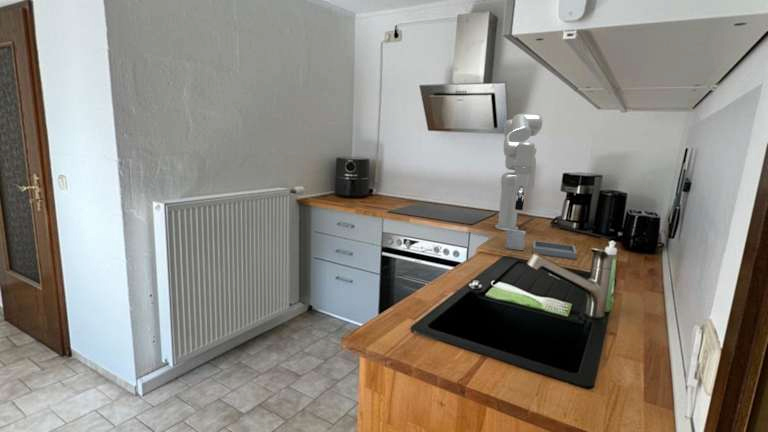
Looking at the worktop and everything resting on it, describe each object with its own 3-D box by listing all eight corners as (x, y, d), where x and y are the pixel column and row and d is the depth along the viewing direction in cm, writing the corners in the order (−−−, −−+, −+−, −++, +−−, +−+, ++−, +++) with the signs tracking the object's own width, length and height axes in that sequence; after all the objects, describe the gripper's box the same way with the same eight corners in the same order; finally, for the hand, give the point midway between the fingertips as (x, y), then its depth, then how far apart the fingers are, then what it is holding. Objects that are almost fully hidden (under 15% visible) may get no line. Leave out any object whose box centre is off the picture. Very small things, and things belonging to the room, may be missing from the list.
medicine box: (523, 249, 191) (525, 231, 190) (522, 251, 187) (524, 233, 186) (506, 246, 195) (508, 228, 193) (505, 248, 191) (506, 230, 189)
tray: (532, 246, 197) (533, 240, 196) (573, 251, 191) (574, 245, 190) (532, 254, 184) (533, 248, 183) (576, 259, 178) (577, 253, 177)
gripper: (515, 168, 192) (511, 204, 196) (513, 171, 176) (509, 210, 180) (532, 169, 190) (528, 206, 193) (532, 172, 174) (527, 212, 177)
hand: (519, 208), depth 187 cm, fingers open, 9 cm apart
